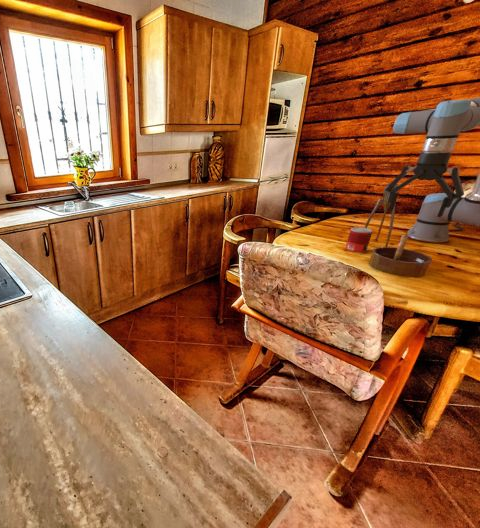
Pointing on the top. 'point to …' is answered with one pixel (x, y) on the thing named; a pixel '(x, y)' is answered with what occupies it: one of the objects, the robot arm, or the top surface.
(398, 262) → the bowl
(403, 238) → the wooden spoon
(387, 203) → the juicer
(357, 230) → the canned food
